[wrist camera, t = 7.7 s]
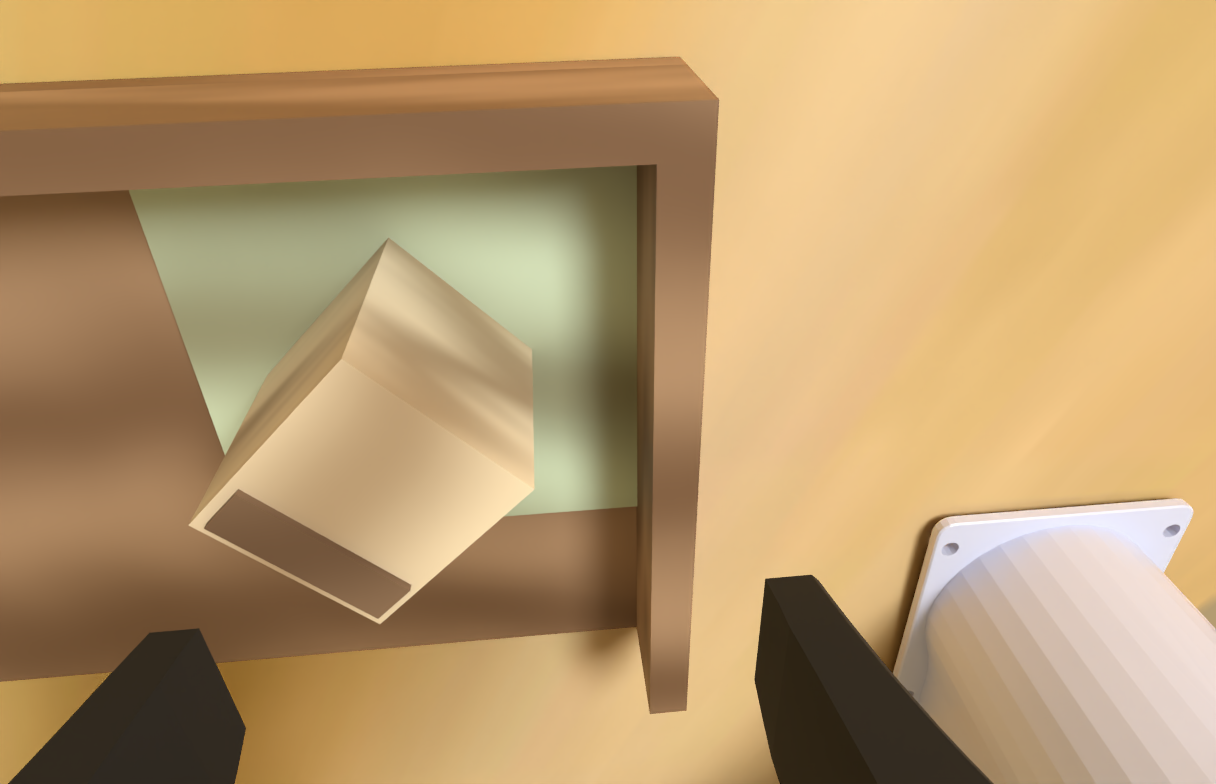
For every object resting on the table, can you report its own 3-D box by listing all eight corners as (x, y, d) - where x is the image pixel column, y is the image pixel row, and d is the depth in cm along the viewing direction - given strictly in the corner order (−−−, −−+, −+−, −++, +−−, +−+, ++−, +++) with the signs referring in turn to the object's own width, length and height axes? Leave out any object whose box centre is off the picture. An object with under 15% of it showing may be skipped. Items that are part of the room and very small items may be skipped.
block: (532, 349, 18) (534, 494, 14) (410, 466, 19) (378, 630, 15) (388, 237, 16) (339, 363, 12) (267, 375, 18) (184, 531, 13)
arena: (665, 604, 24) (686, 710, 21) (-1, 659, 23) (-85, 782, 20) (679, 56, 16) (718, 99, 13) (-385, 99, 15) (-640, 158, 11)
